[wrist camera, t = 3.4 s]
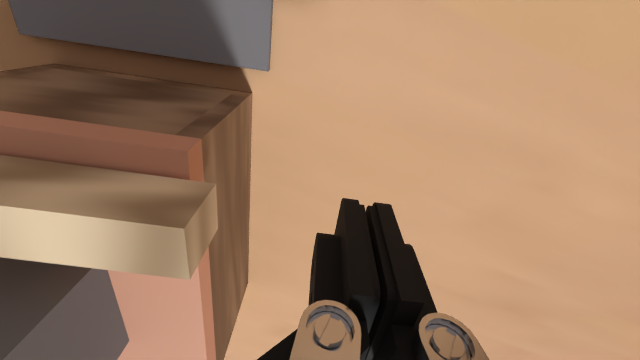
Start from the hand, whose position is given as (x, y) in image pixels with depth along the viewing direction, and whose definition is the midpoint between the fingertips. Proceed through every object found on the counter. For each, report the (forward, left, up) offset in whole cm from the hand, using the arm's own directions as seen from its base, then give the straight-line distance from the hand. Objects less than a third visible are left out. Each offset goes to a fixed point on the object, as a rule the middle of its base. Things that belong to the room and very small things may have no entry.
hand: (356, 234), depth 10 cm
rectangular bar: (+12, 0, -1) cm, 12 cm away
